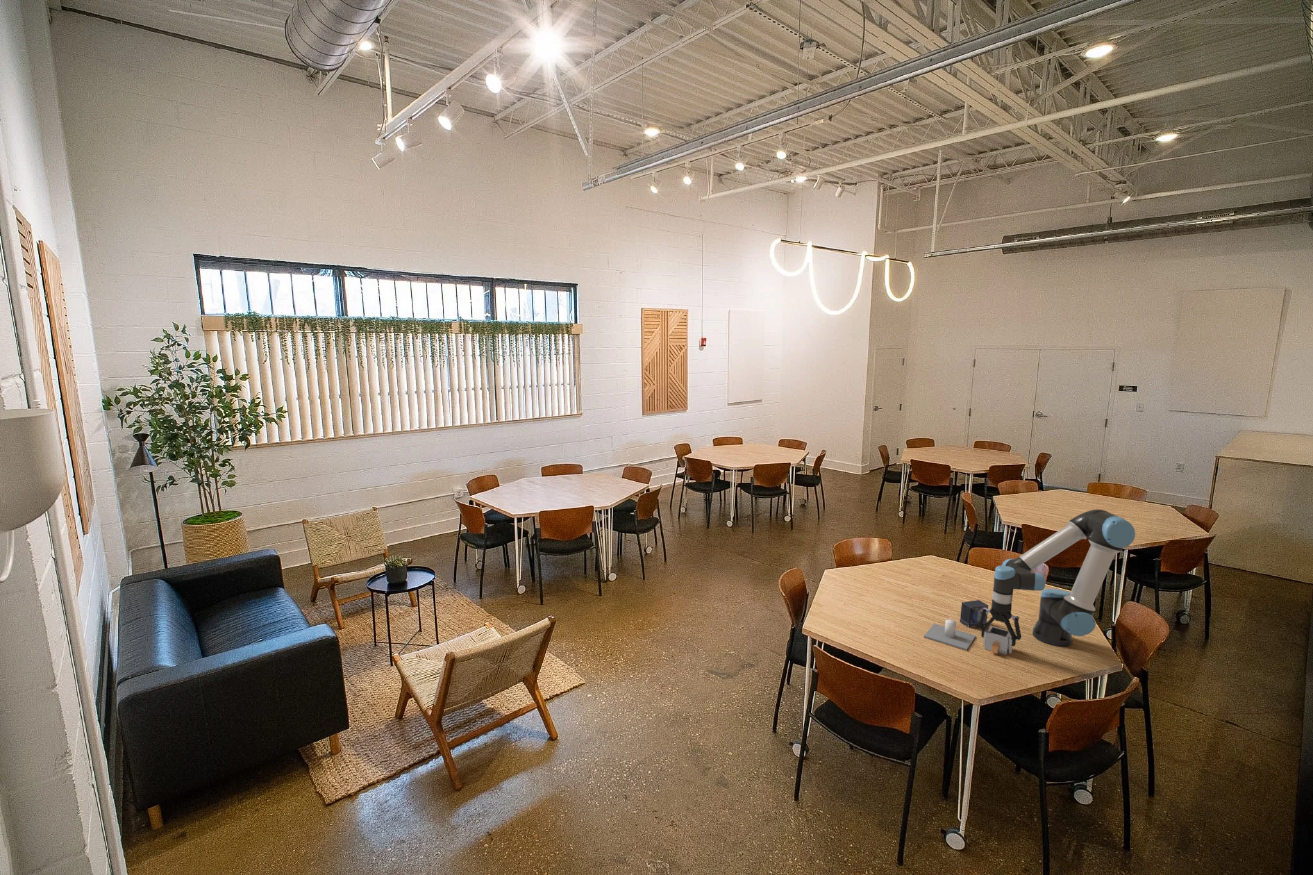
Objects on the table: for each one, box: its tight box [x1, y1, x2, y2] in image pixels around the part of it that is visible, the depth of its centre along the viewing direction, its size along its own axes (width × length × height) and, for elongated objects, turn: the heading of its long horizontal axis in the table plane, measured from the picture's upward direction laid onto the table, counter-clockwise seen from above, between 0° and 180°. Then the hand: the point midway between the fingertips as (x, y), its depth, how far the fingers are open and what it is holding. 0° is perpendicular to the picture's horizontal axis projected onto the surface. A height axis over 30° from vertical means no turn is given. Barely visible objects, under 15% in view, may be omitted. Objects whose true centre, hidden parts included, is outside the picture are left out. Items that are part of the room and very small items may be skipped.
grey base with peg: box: [923, 618, 976, 651], centre depth 266 cm, size 18×16×8 cm
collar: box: [984, 625, 1011, 656], centre depth 254 cm, size 8×11×8 cm
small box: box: [959, 599, 989, 628], centre depth 278 cm, size 11×6×10 cm, turn 105°
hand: (997, 648), depth 256 cm, fingers open, 9 cm apart
